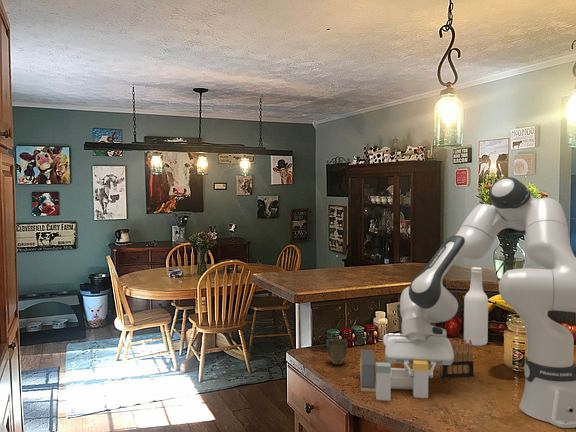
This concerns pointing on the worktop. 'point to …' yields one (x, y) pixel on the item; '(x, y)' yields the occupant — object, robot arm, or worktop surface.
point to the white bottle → (476, 311)
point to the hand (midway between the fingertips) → (420, 376)
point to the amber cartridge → (420, 379)
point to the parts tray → (401, 379)
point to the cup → (337, 350)
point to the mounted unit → (367, 371)
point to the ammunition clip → (459, 362)
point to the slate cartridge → (383, 381)
